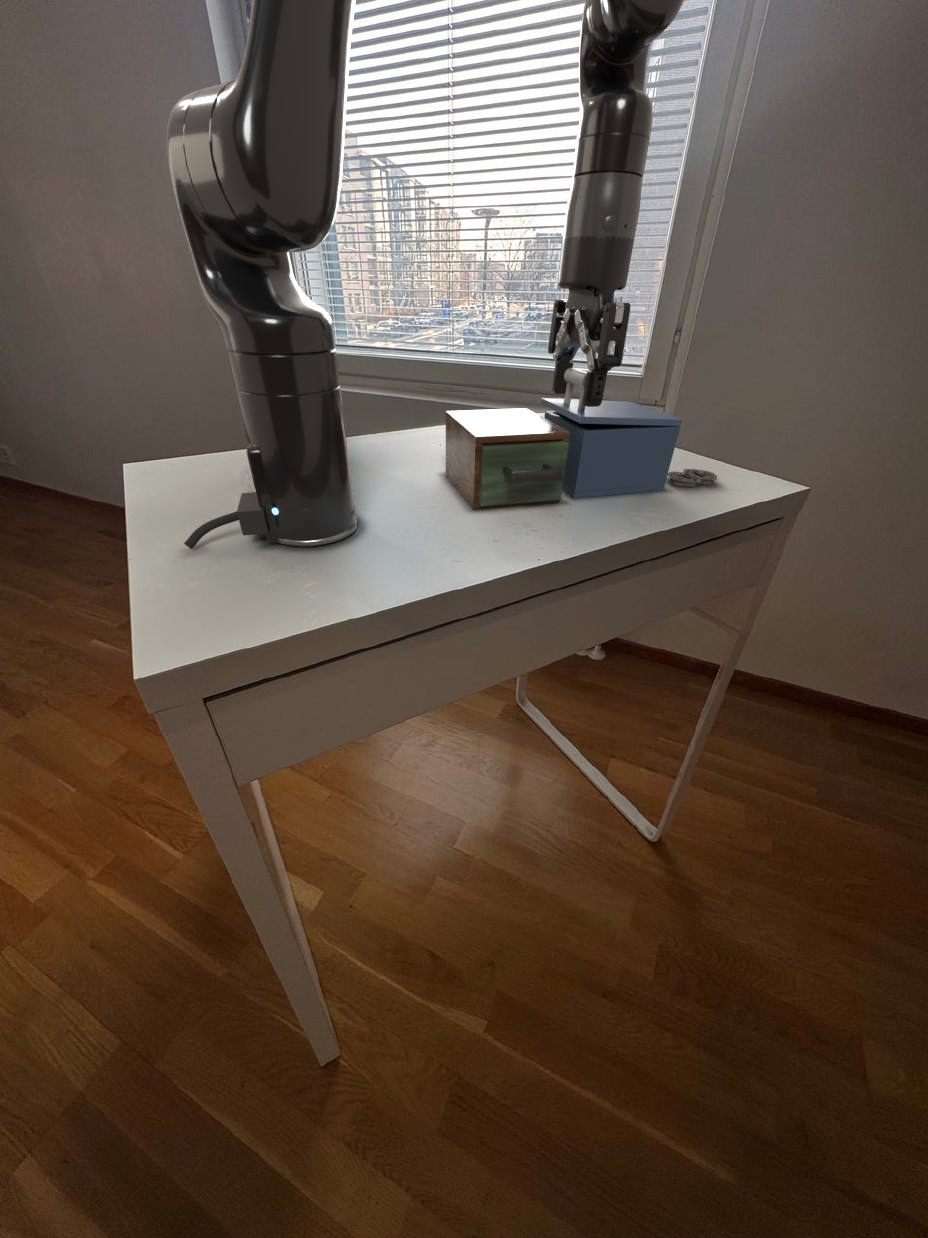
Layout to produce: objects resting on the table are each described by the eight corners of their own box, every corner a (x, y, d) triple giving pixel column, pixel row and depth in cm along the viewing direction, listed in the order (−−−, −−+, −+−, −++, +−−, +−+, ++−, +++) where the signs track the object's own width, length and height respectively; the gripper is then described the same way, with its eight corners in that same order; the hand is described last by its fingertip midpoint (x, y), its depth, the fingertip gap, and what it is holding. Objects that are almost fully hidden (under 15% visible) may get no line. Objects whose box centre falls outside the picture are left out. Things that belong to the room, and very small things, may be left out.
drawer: (575, 511, 56) (585, 452, 52) (491, 519, 53) (495, 458, 49) (523, 468, 68) (527, 418, 64) (453, 473, 66) (454, 421, 62)
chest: (573, 498, 62) (584, 431, 57) (538, 470, 71) (544, 411, 66) (663, 490, 65) (680, 426, 60) (618, 464, 74) (630, 407, 69)
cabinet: (560, 502, 60) (570, 431, 55) (473, 510, 57) (475, 436, 52) (520, 469, 71) (526, 407, 66) (445, 474, 68) (445, 410, 63)
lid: (579, 423, 56) (589, 376, 53) (540, 403, 65) (546, 363, 62) (680, 426, 60) (694, 382, 57) (630, 407, 69) (640, 369, 66)
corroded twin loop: (656, 480, 68) (658, 472, 67) (695, 473, 71) (697, 466, 70) (684, 491, 64) (686, 484, 64) (724, 483, 67) (726, 476, 67)
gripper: (669, 231, 46) (631, 410, 55) (597, 242, 57) (575, 388, 67) (600, 227, 44) (573, 412, 54) (540, 238, 56) (526, 390, 65)
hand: (575, 399), depth 60 cm, fingers open, 8 cm apart
